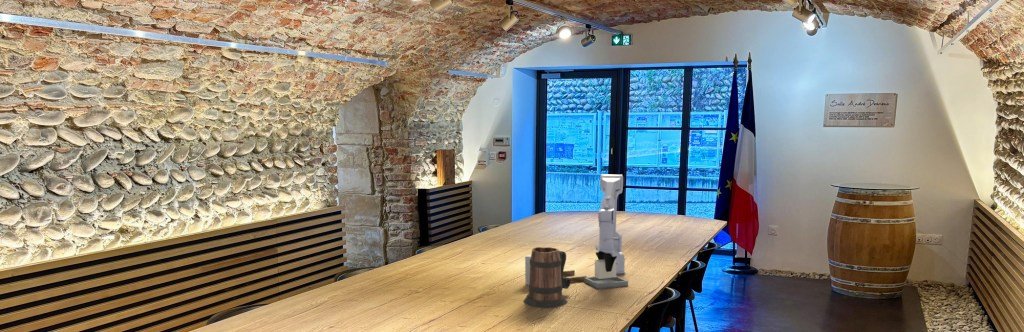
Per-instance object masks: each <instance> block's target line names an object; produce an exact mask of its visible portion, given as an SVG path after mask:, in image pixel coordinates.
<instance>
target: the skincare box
mask: <svg viewBox="0 0 1024 332" xmlns="http://www.w3.org/2000/svg"><path fill="white" fill-rule="evenodd" d="M530 259H531V254H527V255H525V256H524V263H525V265H524V269H525V270H524V272H525V273H524V274H525V277H524V278H525V279H524V280H525V286H529V282H530Z"/></svg>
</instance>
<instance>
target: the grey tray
mask: <svg viewBox="0 0 1024 332" xmlns="http://www.w3.org/2000/svg"><path fill="white" fill-rule="evenodd" d="M583 282H584V284H586V285H589V286H591V287H593V288H595V289H596V290H605V288H606V289H611V288H621V287H622V286H623V287H629V281H628V280H626V279H624V278H622V277H620V276H617V275H616V277H613V278H604V279H598V278H596V277H595V276H587V277H585V278H584V281H583Z"/></svg>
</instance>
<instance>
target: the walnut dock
mask: <svg viewBox="0 0 1024 332" xmlns="http://www.w3.org/2000/svg"><path fill="white" fill-rule="evenodd" d="M575 275H576V272H575V270H574V269H571V270H570V269H569V270H563V277H569V276H571V277H569V278H570V280H571V283H570V284H572V283H580V282H584V278H585V277H588V276H587V275H581V276H575ZM572 276H573V277H572Z"/></svg>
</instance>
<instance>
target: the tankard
mask: <svg viewBox="0 0 1024 332" xmlns="http://www.w3.org/2000/svg"><path fill="white" fill-rule="evenodd" d="M530 255H531V259H530V282H529V285H528V294H527V295H525V298H524V299H523V301H522V302H523V303H524V304H525V305H526V306H528V307H533V308H539V309H553V308H560V307H564V306H566V305H567V304H568V303H569V301H568V300H567V298H566V297H565V295H564V294H563V289H565V290H568V289H569V288H570V286H571V284H572V283H571V280H570V277H568V276H563V271H565V270H564V269H565V267H566V266H565V265H566V262H567V254H566V252H565V251H563V250H559V249H558V248H555V247H547V246H546V247H540V246H536V247H533V248H532V249H531V254H530Z"/></svg>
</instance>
